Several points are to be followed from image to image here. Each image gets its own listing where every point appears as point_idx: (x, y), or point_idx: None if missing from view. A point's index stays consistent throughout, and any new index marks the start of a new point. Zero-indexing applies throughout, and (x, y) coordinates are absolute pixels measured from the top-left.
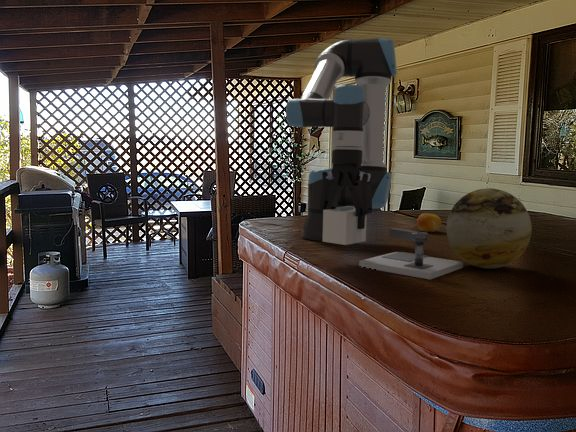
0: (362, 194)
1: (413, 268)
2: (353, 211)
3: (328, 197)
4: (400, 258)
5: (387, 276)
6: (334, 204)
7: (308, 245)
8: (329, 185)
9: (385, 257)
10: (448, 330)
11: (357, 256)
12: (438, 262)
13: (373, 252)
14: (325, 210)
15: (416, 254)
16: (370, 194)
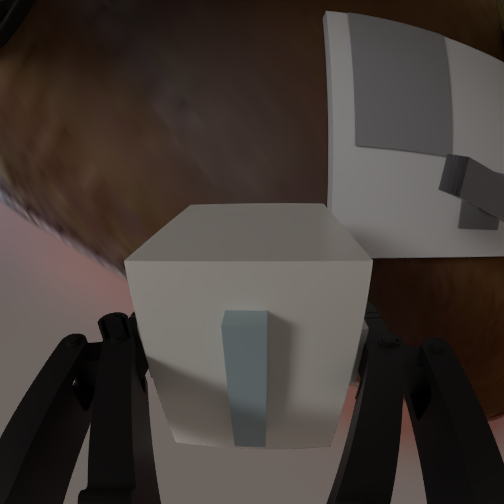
0: (429, 482)
1: (480, 238)
2: (342, 407)
3: (67, 411)
4: (416, 132)
5: (429, 292)
6: (139, 392)
7: (13, 106)
8: (38, 488)
9: (371, 146)
10: (499, 413)
11: (212, 100)
12: (496, 112)
13: (209, 2)
14: (190, 442)
15: (500, 220)
16: (484, 438)
